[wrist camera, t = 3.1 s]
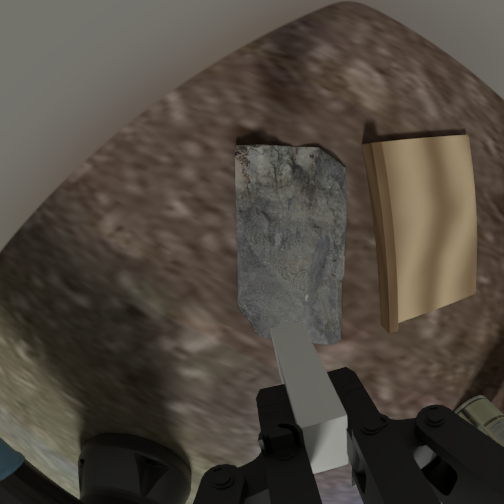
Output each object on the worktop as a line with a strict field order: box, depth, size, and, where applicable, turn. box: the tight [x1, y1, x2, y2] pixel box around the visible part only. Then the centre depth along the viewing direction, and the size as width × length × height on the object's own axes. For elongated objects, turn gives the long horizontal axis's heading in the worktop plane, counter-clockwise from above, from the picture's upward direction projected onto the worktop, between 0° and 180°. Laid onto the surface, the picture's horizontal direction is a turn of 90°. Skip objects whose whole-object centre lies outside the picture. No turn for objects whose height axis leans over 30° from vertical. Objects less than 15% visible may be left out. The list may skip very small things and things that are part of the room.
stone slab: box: [235, 144, 346, 345], centre depth 28 cm, size 18×2×10 cm
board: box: [362, 135, 477, 334], centre depth 28 cm, size 13×18×2 cm
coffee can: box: [454, 395, 504, 447], centre depth 31 cm, size 10×10×14 cm
